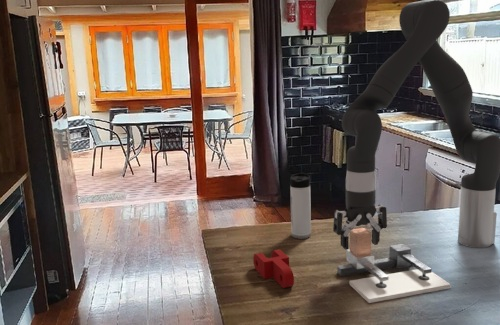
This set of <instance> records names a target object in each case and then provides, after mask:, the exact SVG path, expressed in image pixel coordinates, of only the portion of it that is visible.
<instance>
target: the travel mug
mask: <svg viewBox="0 0 500 325" xmlns="http://www.w3.org/2000/svg"><path fill="white" fill-rule="evenodd" d="M289 178H290V185H289V186H290V187H289V189H290V194H289V195H290V224H291V225H290V228H291V229H290V230H291V232H290V234H291V235H290V236H291V237H292V238H294V239H297V238H298V240H303V239H304V240H305V239H308V237H309V238H310V237H311V236H312V222H311V221H312V220H311V219H312V217H311V216H312V215H311V214H312V213H311V202H312V201H311V176H310V175H309V174H307V173H305V172H299V173H295V174H293V175H291V176H290V177H289Z"/></svg>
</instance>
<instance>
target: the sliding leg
mask: <svg viewBox="0 0 500 325" xmlns="http://www.w3.org/2000/svg"><path fill="white" fill-rule="evenodd" d="M371 239H372V231H370V230H368V229H367V228H365V227H358V228H353V230H351V231H350V232H349V248H348V249H346V250H345V254H346V255H345V258H346V260H345V261H347V262H348V264H352V265H353V266H354V267H355V268H356V269H360V268H365V269H367V270H368V271H369V272H368V273H370V274H371V275H372V276H373V277H376V278H378V279H379V280H380V284H381V285H382V284H383V281H386V280H388V278H389V276H388V275H386V274H387V273H385V272H384V271H383V270H382V269H381V270H380V269H379V268H377V267H376V266H375V265H374V260H375V255H374V254H373V253H372V249H371V248H372V241H371Z"/></svg>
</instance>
